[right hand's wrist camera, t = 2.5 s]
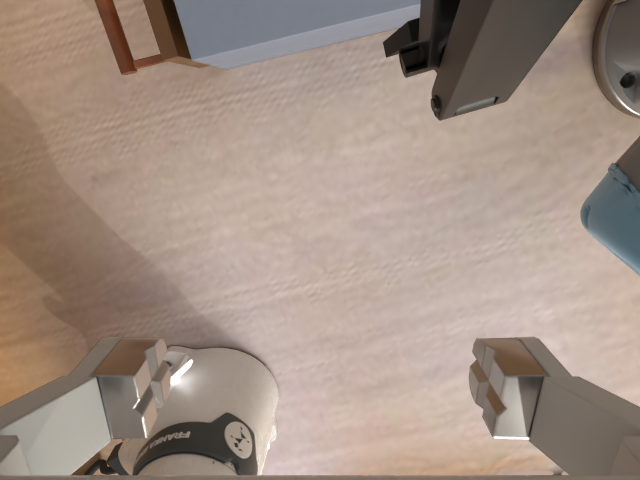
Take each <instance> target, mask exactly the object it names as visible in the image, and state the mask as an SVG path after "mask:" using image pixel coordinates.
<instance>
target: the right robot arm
mask: <svg viewBox="0 0 640 480" xmlns="http://www.w3.org/2000/svg"><path fill="white" fill-rule="evenodd" d="M472 352H473V354H474V356H475V357H476V359H477V360H476V361H475V362H474V363H473V364H472V365H471V366H470V371H469V385H470V390H471V394H472V397H473V399H474V401H475V403H476V404H477V405H479V406H480V407H482V408H483V409H484V410H483V416H482V417H483V419H484V421H485V423H486V425H487V427H488V429H489V431H490V433H491V435H492V437H493V438H506V439H529V441H530V442H531V443H532V444H533V445H534V446H536V447H537V448H538V449H539V450H540V451H542V452H543V453H544V454H545V455H546V456H547V457H549V458H550V459H551V460H552V461H553V462H555V463H556V464H557V465H558V466H559V467H561V468H562V469H563V470H564V471H565V472H567V473H568V474H569V475H261V473H262V469H263V466H264V462H265V458H266V454H267V450H268V449H269V446H270V444H269V443H271V442H273V441H274V440H275V438H276V435H277V424H276V420H275V413H276V410H277V406H278V401H279V392H278V387H277V384H276V381H275V379H274V377H273V376H272V374H271V373H270V371H269V370H268V369H267V368H266V367H265V366H264V365H263V364H262V363H261V362H260V361H258V360H257V359H255V358H254V357H252V356H250V355H248V354H246V353H243V352H241V351H238V350H234V349H229V348H206V349H190V348H185V347H180V346H170V347H168V348H167V346H166V341H165V340H164V339H163V338H143V337H125V338H124V337H105V338H102V339H101V340H100V341H99V342H98V343H97V344H96V345H95V346H94V347H93V349H92V350H91V351H90V352H89V353H88V354H87V355H86V356H85V358H84V359H83V360H82V361H81V362H80V363H79V364H78V365H77V367H76V368H75V369H74V370H73V371H72V372H71V373H70V374H69V376H68V377H60V378H58V379H56V380H54V381H52V382H50V383H48V384H45V385H43V386H41V387H39V388H37V389H35V390H33V391H31V392H29V393H27V394H25V395H23V396H21V397H19V398H17V399H15V400H13V401H11V402H9V403H7V404H5V405H3V406H1V407H0V480H640V407H639V406H637V405H635V404H633V403H631V402H629V401H627V400H625V399H623V398H621V397H619V396H617V395H615V394H613V393H611V392H608V391H606V390H604V389H602V388H600V387H598V386H596V385H594V384H592V383H590V382H588V381H586V380H584V379H582V378H580V377H572V376H571V374H570V373H569V372H568V371H567V370H566V369H565V368H564V367H563V365H562V364H561V363H560V362H559V361H558V360H557V359H556V358H555V356H554V355H553V354H552V353H551V352H550V351H549V350H548V349H547V347H546V346H545V345H544V344H543V343H542V342H541V341H540V340H539V339H538V338H536V337H515V338H476V340H475V342H474V345H473V351H472ZM168 362H171V364H170V363H168ZM111 439H122V440H123V442H122V443H120V444H118V445H116V446H115V447H114V449H113V451H112V453H111V454H110V456H109V458H108V460H107V461H105V460H103V459H102V460H99V461H97V462H96V463H94V464H93V465H92V467H91V468H90V469H89V470H88V471H87V472H86V473H85V474H84V475H71V474H72V473H74V472H75V471H76V470H77V469H78V468H80V467H81V466H82V465H83V464H84V463H85V462H87V461H88V460H89V459H90V458H91V457H93V456H94V455H95V454H96V453H97V452H99V451H100V450H101V449H102V448H103V447H105V446H106V445H107V444H108V443H109V442H111ZM107 464H108V465H109V466H110V467H108V466H107ZM99 468H100V471H101V473H103V474H105V475H93V474H94V473H95V471H96V470H97V469H99ZM115 473H118V474H119V475H110V474H115Z"/></svg>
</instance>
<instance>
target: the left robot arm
mask: <svg viewBox="0 0 640 480" xmlns="http://www.w3.org/2000/svg"><path fill="white" fill-rule="evenodd" d="M581 2H582V0H421V4H420V18H416V19H413V20H410V21H408V22H406V23H405V24H404V25H403V26H402V27H401V28H399V29H398V30H397V31H396V32H395V33H394V34H392V35H391V36H390V37H389V38H388V39H387V40H385V41H384V42H383V45H384V49H385V54H386V57H390V56H393V55H396V54H399V59H400V64H401V68H402V71H403V74H404V76H405V77H406V78H407V77H410V76H414V75H417V74H420V73H424V72H427V71H430V70H435V71H436V72H437V76H436V79H435V82H434V86H433V89H432V99H431V107H432V110H433V112H434V115H435V116H436V117H437V118H438V120H440V121H441V120H444V119H448V118H451V117H455V116H458V115H461V114H465V113H468V112H472V111H475V110H479V109H482V108H486V107H489V106H493V105H496V104H500V103H503V102H506V101H507V100H508V99H509V97H510V96H511V95H512V93H513V92H514V91H515V89H516V88H517V87H518V85H519V84H520V83H521V81H522V80H523V79H524V77H525V76H526V75H527V73H528V72H529V71H530V69H531V68H532V67H533V65H534V64H535V63H536V61H537V60H538V59H539V57H540V56H541V55H542V53H543V52H544V51H545V49H546V48H547V47H548V45H549V44H550V43H551V41H552V40H553V39H554V38H555V36H556V35H557V34H558V32H559V31H560V30H561V28H562V27H563V26H564V24H565V23H566V22H567V20H568V19H569V18H570V16H571V15H572V14H573V12H574V11H575V10H576V8H577V7H578V6H579V4H580V3H581ZM593 65H594V71H595V76H596V79H597V82H598V84H599V87H600V89H601V90H602V92H603V94H604V95H605V97H606V98H607V99H608V100H609V102H610V103H611V104H612V105H614V106H615V107H616V108H617V109H619V110H620V111H622V112H624V113H626V114H628V115H630V116H633V117H636V118H640V0H608V2H607V4H606V6H605V8H604V10H603V12H602V14H601V17H600V20H599V22H598V26H597V29H596V33H595V38H594V45H593ZM581 221H582V224H583V226H584V228H585V229H586V230H587V231H588V232H589V233H590V234H591V235H592V236H593V237H594V238H595V239H596V240H597V241H599V242H600V243H601V244H602V245H603V246H604V247H606V248H607V249H608V250H609V251H610V252H611V253H613V254H614V255H615V256H616V257H617V258H619V259H620V260H621V261H622V262H624V263H625V264H626V265H627V266H628V267H630V268H631V269H632V270H633V271H635V272H636V273H637V274H638V275H640V136H639V138H638V139H637V140H636V141H635V142H634V143H633V144H632V145H631V146H630V147H629V149H628V150H627V151H626V152H625V153H624V154H623V155H622V156H621V157H620V159H619V160H618V161H617V162H616V163H615V164H614V163H612V164H611V165H610V166H609V168H608V173H607V175H606V176H605V177H604V178H603V180H602V181H601V182H600V183H599V184H598V186H597V187H596V188H595V189H594V191H593V192H592V193H591V194H590V195H589V197H588V198H587V199H586V200H585V202H584V203H583V205H582V208H581Z"/></svg>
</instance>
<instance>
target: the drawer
mask: <svg viewBox="0 0 640 480" xmlns="http://www.w3.org/2000/svg"><path fill="white" fill-rule="evenodd" d="M95 3H96V5H97V8H98V11H99V14H100V17H101V19H102V22H103V25H104V28H105V30H106V33H107V36H108V39H109V41H110V44H111V47H112V50H113V53H114V55H115V58H116V61H117V64H118V66H119V69H120V72H121V74H122V75H128V74H133V73H136V72H137V69H140V68H144V67H148V66H152V65H156V64H160V63H164V62H168V61H169V62H174V63H179V64H183V65H188V66H193V67H198V68H201V67H205V66H209V65H207V64H204V63H200V62H196V61H192V59H191V56H190V53H189V49H188V46H187V43H186V39H185V36H184V33H183V29H182V26H181V23H180V20H179V16H178V13H177V10H176V6H175V3H174V0H144V4H145V7H146V10H147V13H148V16H149V19H150V22H151V25H152V28H153V31H154V34H155V37H156V41H157V44H158V47H159V50H160V53H161V54H159V55H155V56H151V57H147V58H143V59H139V60H135V61H134V60H133V57H132V54H131V51H130V48H129V45H128V42H127V39H126V37H125V34H124V31H123V28H122V25H121V22H120V19H119V16H118V14H117V11H116V8H115V5H114V2H113V0H95Z"/></svg>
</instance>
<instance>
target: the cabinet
mask: <svg viewBox="0 0 640 480" xmlns="http://www.w3.org/2000/svg"><path fill="white" fill-rule="evenodd" d="M174 3H175V6H176V10H177V13H178V16H179V20H180V23H181V26H182V29H183V33H184V36H185V39H186V43H187V46H188V49H189V53H190V56H191V59H192V61H196V62H200V63H204V64H207V65H211V66H215V67H219V68H223V69H231V68H236V67H240V66H244V65H248V64H252V63H256V62H260V61H264V60H268V59H273V58H277V57H281V56H285V55H289V54H293V53H297V52H301V51H305V50H310V49H314V48H318V47H322V46H326V45H330V44H334V43H338V42H342V41H347V40H351V39H355V38H359V37H363V36H367V35H371V34H375V33H379V32H384V31H388V30H392V29H396V28H400V27H402V26H403V25H404V24H405V23H406V22H408V21H410V20H413V19H416V18H420V4H421V0H174Z"/></svg>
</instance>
